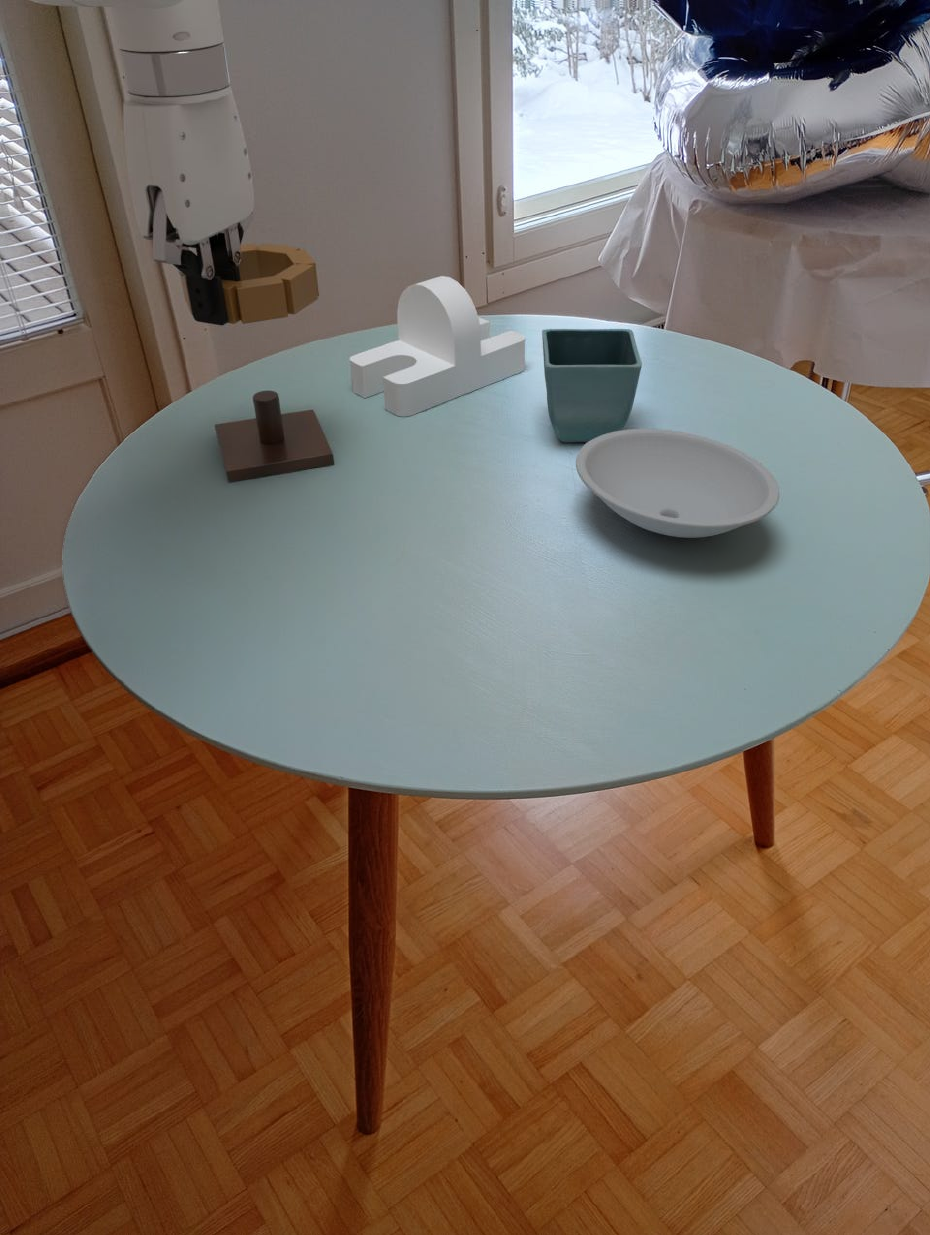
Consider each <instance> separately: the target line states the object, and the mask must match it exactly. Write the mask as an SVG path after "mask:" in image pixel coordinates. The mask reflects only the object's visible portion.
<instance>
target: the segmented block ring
mask: <svg viewBox="0 0 930 1235" xmlns="http://www.w3.org/2000/svg"><path fill="white" fill-rule="evenodd" d="M240 247H241V254H242V260H241V263H240V264H239V265H236V266H239V272H240V278H241V281H230V280H223V279H221V280H222V285H223V293H224V299H225V304H226V310H227V316H228V322H227V323H226V324H231V325H236V324H237V323H239V322H241V324H244V325H246V324H252V323H258V322H263V321H271V320H276V319H283V318H288V317H289V315H294V316H295V315H296V314H298V313H299V312H302V311H303V310H304V309H305V308H307V307H309V306H310V305H312V304H314V303H315V302H316V301H318V300H319V296H320V292H319V283H318V274H317V266H316V261H315V260H314V259H313V258H312V257H311V255H310V254H309V253H308V252H307V251H306V249H301V248H300V247H296V246H288V245H280V244H272V243H265V242H263V243H261V244H259V245H258V244H257V243H255V242H254V243H247V244H241V245H240ZM179 276H180V277H179V278H180V282H181V286H182V292H183V298H184V301H185V303H186V305H187V307H188V310H189V312H190V314H191V316H193V313H192V308H191V303H190V298H189V293H188V288H187V283H186V278H185V276H181V275H180V274H179Z"/></svg>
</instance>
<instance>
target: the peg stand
mask: <svg viewBox="0 0 930 1235" xmlns="http://www.w3.org/2000/svg"><path fill="white" fill-rule="evenodd" d="M252 403H253V408H254V414H255V418H248V419H241V420H235V421H229V422H223V423H222V422H221V423H216V424H214V429H215V434H216V439H217V443H218V446H219V450H220V454H221V458H222V462H223V466H224V470H225V473H226V477H227V482H228V483H233V482H240V481H244V480H250V479H256V478H262V477H267V476H275V475H280V474H287V473H292V472H297V471H305V470H310V469H315V468H323V467H327V466H334V465H335V458H334V453H333V451H332V448H331V446H330V444H329V442H328V440H327V437H326V435H325V432H324V430H323V429H322V426H321V423H320V422H319V419H318V417H317V414H316V412H315V410H314V409H305V410H300V411H293V412H287V413H282V410H281V404H280V397H279V394H278V392H277V391H275V390H261V391H257V392H255V393H254V394H253V395H252Z"/></svg>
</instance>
